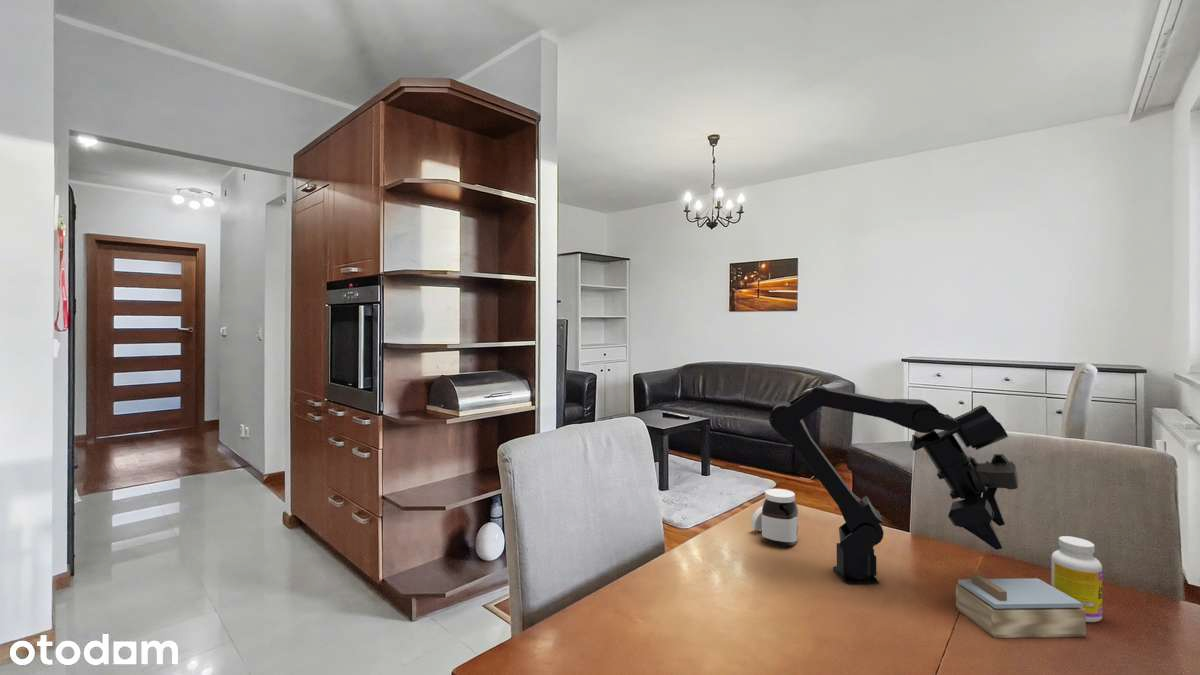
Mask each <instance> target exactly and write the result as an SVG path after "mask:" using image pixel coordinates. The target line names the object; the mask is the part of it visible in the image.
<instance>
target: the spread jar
mask: <svg viewBox="0 0 1200 675" xmlns="http://www.w3.org/2000/svg"><path fill="white" fill-rule="evenodd" d="M764 498H765V499H764V501H763V503H762V505H761V506H760V507H758V508H757V509H756V510H755V512H754V513H753V515H752V516H751V519H750V527H751V528H752V529H754V531H755V532H758V530H761V529H762V531H761V537H762V539H763V541H765V542H767V544H769V543H771V544H770V545H772V544H773V545H772V546H775V545H778V546H777V547H780V546H789V547H792V546H794V545H795V546H796V544H797V541H798V537H799V509H798V505H797V503H796V493H795V492H793V491H792V490H789V489H784V488H769V489H768V488H767V489H766V490H765V491H764Z"/></svg>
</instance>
